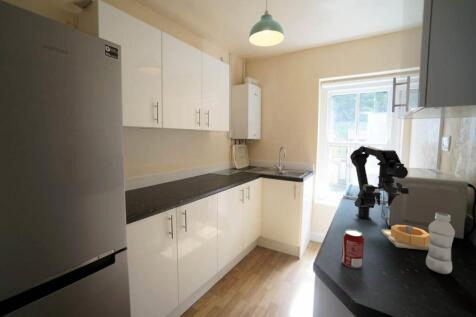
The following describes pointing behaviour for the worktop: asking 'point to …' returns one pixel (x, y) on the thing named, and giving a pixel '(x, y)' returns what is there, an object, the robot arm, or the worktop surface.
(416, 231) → the orange octagonal ring
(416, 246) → the hook stand
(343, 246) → the soda can
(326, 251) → the worktop surface
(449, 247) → the plastic bottle
